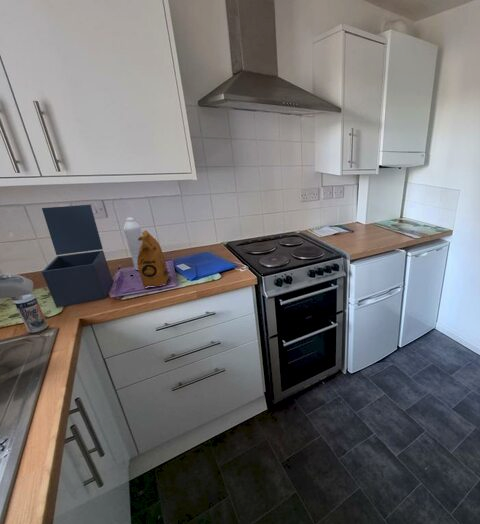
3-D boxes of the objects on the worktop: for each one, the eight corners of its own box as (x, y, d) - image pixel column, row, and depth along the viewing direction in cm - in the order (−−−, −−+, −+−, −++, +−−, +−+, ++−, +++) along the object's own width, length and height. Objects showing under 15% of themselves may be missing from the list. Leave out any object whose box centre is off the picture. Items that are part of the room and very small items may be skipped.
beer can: (32, 335, 94) (16, 301, 89) (25, 331, 96) (9, 298, 91) (51, 327, 98) (37, 294, 93) (44, 323, 100) (30, 291, 95)
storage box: (105, 298, 116) (94, 264, 111) (56, 307, 109) (41, 271, 104) (113, 281, 130) (103, 250, 125) (69, 288, 124) (57, 256, 118)
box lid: (90, 204, 120) (93, 204, 124) (41, 208, 113) (46, 207, 117) (102, 249, 124) (104, 248, 128) (56, 255, 118) (60, 253, 121)
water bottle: (134, 268, 143) (119, 217, 134) (149, 264, 147) (136, 214, 138) (137, 273, 137) (121, 220, 128) (153, 270, 141) (139, 218, 132)
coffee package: (139, 290, 122) (124, 239, 114) (146, 278, 133) (133, 230, 124) (167, 287, 125) (154, 236, 117) (172, 275, 136) (160, 228, 128)
